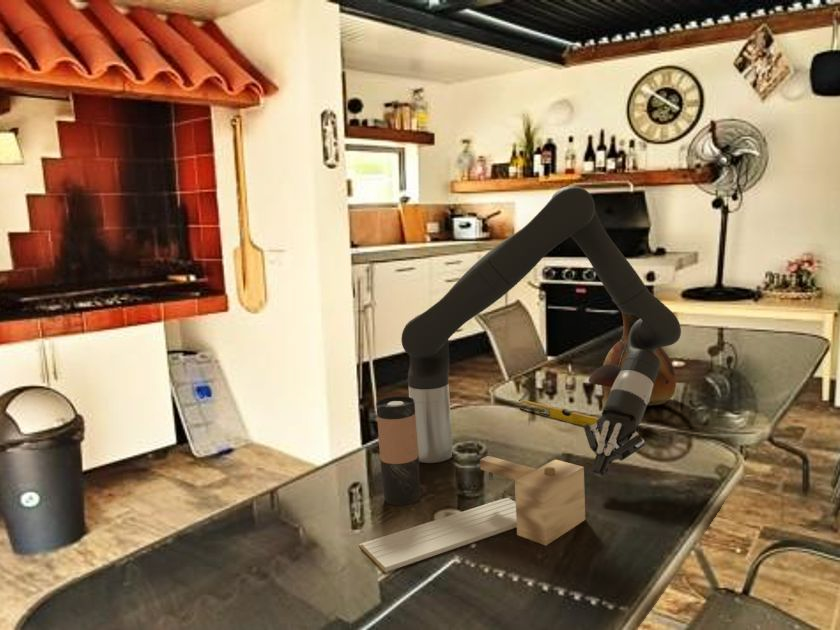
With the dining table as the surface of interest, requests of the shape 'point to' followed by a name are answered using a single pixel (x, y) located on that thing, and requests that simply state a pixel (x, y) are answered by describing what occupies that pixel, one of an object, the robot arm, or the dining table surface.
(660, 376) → the ceramic pitcher
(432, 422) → the robot arm
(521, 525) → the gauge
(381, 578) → the dining table surface
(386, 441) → the travel mug
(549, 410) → the spirit level
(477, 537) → the baseboard
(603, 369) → the decorative mushroom
